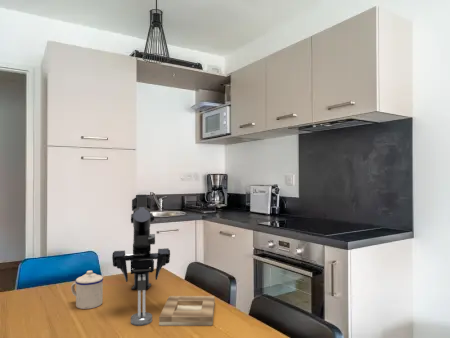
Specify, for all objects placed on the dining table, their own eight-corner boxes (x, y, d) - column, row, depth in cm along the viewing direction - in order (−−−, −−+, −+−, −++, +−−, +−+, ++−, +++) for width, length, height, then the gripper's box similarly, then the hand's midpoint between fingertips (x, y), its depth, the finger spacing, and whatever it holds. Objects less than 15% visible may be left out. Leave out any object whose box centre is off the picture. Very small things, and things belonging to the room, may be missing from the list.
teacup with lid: (108, 301, 123) (108, 268, 123) (91, 311, 114) (91, 275, 114) (80, 297, 126) (80, 266, 126) (62, 307, 117) (62, 272, 118)
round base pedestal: (131, 318, 108) (131, 273, 109) (151, 316, 110) (152, 272, 110) (130, 326, 102) (130, 279, 102) (152, 324, 104) (152, 277, 104)
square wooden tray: (169, 303, 121) (169, 295, 121) (214, 303, 121) (214, 296, 121) (159, 325, 103) (159, 317, 103) (212, 325, 103) (212, 317, 103)
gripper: (112, 226, 114) (109, 268, 103) (169, 224, 118) (172, 265, 107) (114, 246, 121) (111, 287, 110) (167, 243, 126) (170, 282, 115)
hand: (141, 280), depth 110 cm, fingers open, 9 cm apart
